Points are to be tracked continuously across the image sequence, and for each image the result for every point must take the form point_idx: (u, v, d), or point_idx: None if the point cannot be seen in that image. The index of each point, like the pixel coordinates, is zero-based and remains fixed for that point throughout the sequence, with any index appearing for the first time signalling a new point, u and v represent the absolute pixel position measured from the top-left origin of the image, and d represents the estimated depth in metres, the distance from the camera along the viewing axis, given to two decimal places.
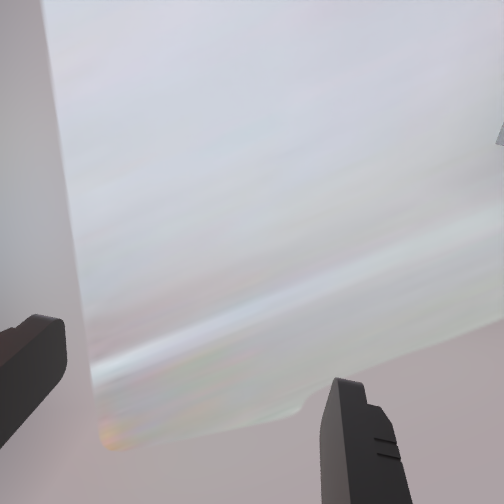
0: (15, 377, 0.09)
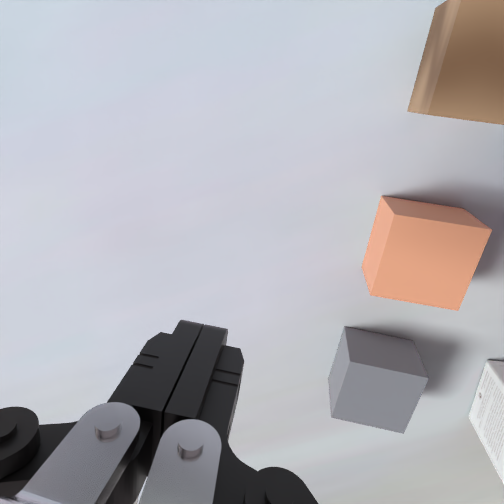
0: None
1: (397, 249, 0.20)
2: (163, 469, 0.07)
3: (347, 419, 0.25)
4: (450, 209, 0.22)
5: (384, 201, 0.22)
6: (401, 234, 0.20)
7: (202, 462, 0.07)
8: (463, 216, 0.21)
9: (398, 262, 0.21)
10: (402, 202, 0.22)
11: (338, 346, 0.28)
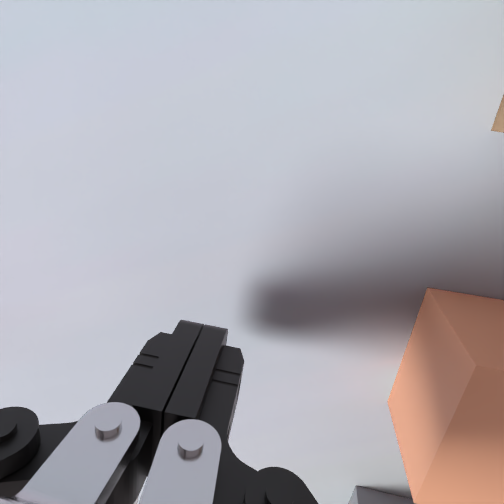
0: None
1: (477, 430, 0.09)
2: (163, 469, 0.07)
3: None
4: None
5: (437, 305, 0.11)
6: (489, 404, 0.09)
7: (202, 462, 0.07)
8: None
9: (478, 454, 0.10)
10: (473, 307, 0.11)
11: None
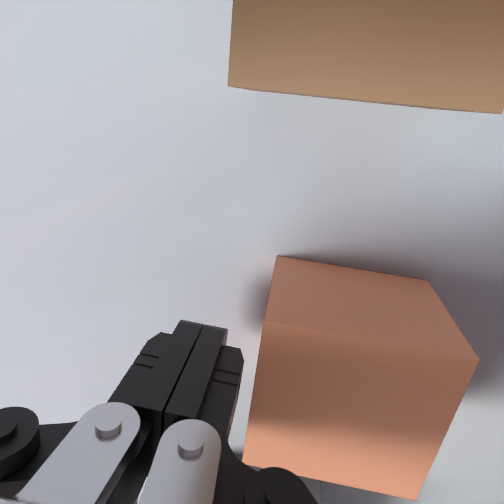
0: None
1: (280, 387, 0.10)
2: (163, 469, 0.07)
3: None
4: (401, 288, 0.11)
5: (273, 272, 0.11)
6: (284, 360, 0.09)
7: (202, 462, 0.07)
8: (423, 310, 0.10)
9: (287, 412, 0.10)
10: (308, 274, 0.11)
11: None
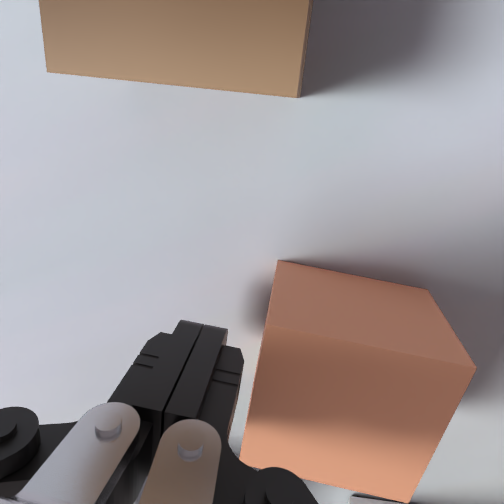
0: None
1: (280, 390, 0.10)
2: (163, 469, 0.07)
3: None
4: (400, 294, 0.11)
5: (275, 275, 0.11)
6: (285, 363, 0.09)
7: (202, 462, 0.07)
8: (421, 317, 0.10)
9: (285, 414, 0.10)
10: (309, 278, 0.12)
11: None
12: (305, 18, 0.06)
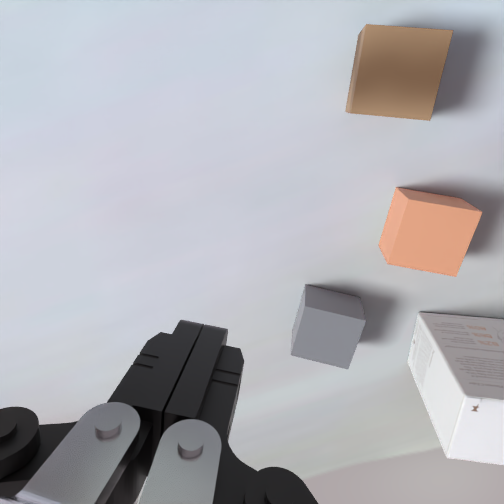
0: None
1: (409, 227, 0.26)
2: (163, 469, 0.07)
3: (303, 356, 0.32)
4: (450, 198, 0.28)
5: (398, 190, 0.28)
6: (413, 215, 0.26)
7: (202, 462, 0.07)
8: (460, 203, 0.27)
9: (410, 237, 0.26)
10: (413, 192, 0.28)
11: (300, 301, 0.34)
12: (435, 99, 0.23)
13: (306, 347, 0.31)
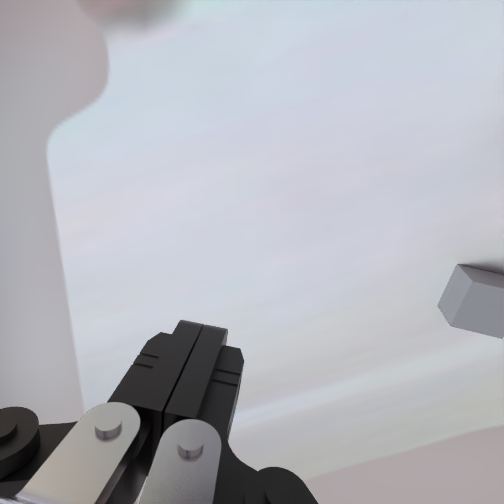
0: None
1: None
2: (163, 469, 0.07)
3: (462, 327, 0.36)
4: None
5: None
6: None
7: (202, 462, 0.07)
8: None
9: None
10: None
11: (450, 279, 0.38)
12: None
13: (466, 318, 0.35)
